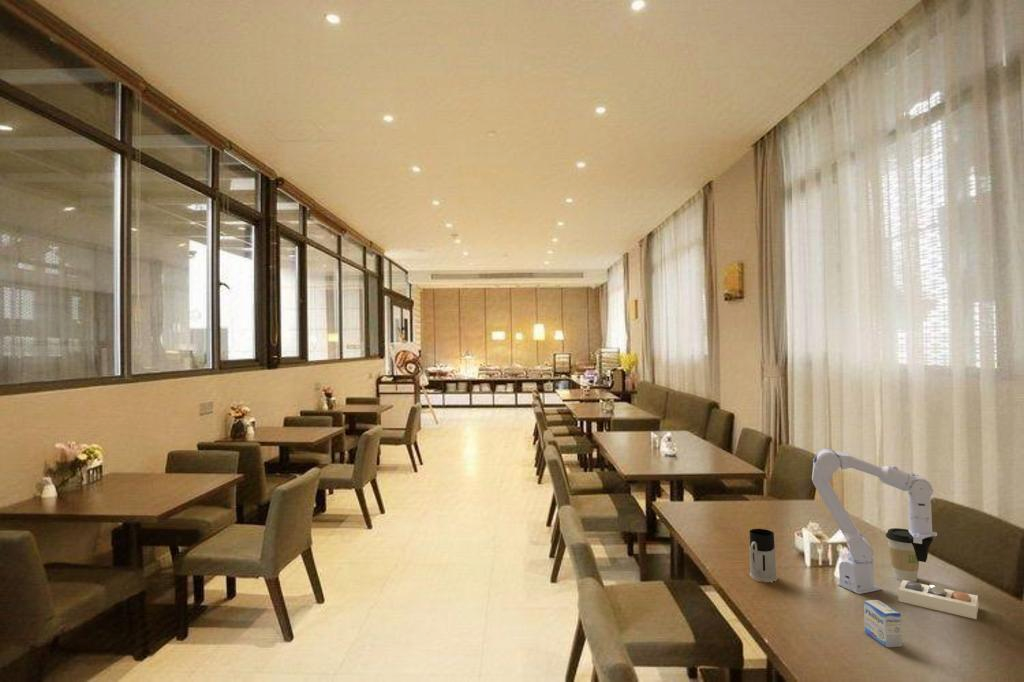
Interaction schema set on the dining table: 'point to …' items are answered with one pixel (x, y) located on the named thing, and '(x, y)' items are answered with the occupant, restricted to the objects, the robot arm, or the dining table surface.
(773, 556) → the glass holder
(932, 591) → the grey rock
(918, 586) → the grey stone
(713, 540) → the dining table surface
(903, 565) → the coffee cup
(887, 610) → the medicine box
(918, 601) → the cream rectangular tray
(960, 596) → the tan rounded lump
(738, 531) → the dining table surface
